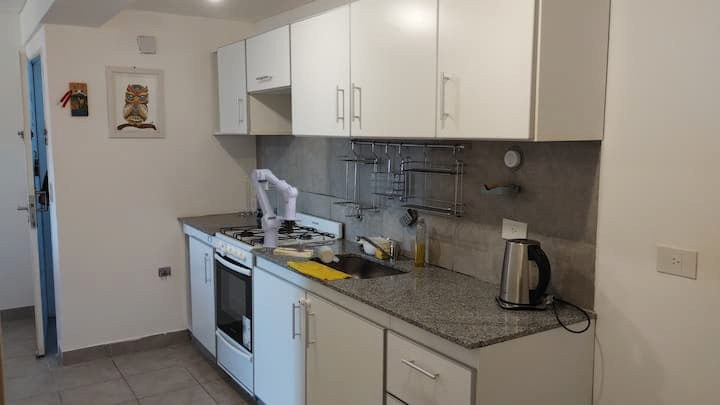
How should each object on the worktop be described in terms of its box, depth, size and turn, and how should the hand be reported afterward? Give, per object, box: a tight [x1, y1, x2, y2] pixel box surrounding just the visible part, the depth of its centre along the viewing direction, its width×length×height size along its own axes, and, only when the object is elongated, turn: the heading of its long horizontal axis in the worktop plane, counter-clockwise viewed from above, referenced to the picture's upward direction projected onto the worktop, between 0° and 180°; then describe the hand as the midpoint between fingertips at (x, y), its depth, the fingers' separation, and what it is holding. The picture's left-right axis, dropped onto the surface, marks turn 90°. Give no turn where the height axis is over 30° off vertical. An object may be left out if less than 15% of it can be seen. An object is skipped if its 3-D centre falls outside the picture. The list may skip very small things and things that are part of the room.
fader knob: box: [297, 242, 306, 252], centre depth 310 cm, size 4×3×4 cm
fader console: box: [272, 246, 314, 258], centre depth 311 cm, size 9×20×2 cm, turn 85°
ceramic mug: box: [317, 245, 340, 264], centre depth 299 cm, size 11×8×8 cm
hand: (289, 234), depth 316 cm, fingers closed
